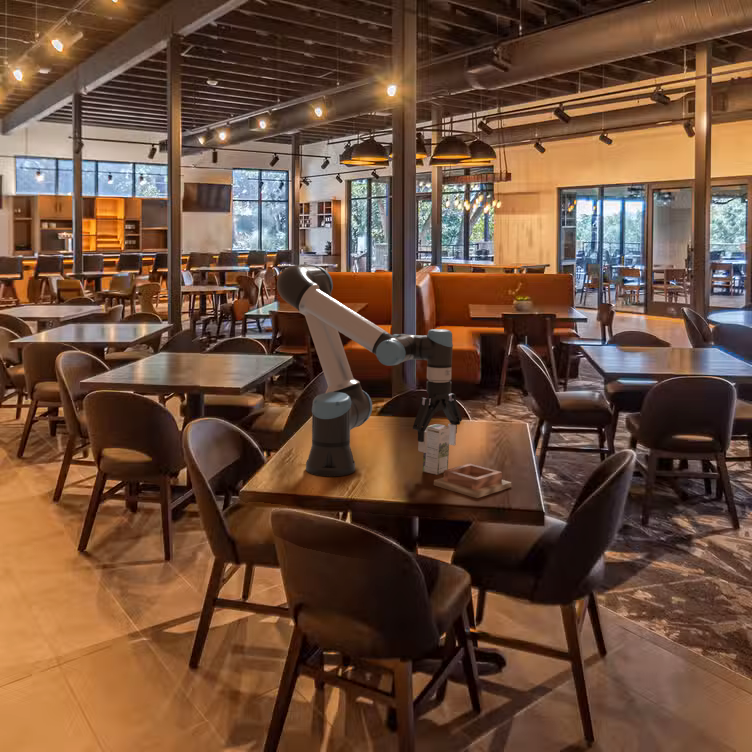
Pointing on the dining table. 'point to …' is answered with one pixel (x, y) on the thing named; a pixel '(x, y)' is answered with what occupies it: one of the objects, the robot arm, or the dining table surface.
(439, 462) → the syrup box
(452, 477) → the socket board
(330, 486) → the dining table surface
